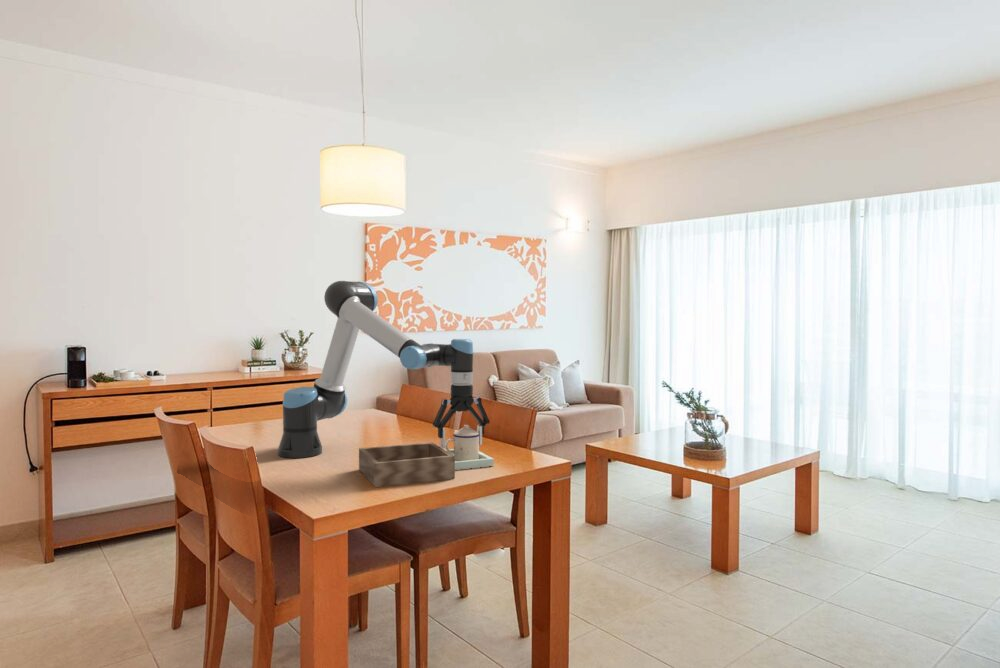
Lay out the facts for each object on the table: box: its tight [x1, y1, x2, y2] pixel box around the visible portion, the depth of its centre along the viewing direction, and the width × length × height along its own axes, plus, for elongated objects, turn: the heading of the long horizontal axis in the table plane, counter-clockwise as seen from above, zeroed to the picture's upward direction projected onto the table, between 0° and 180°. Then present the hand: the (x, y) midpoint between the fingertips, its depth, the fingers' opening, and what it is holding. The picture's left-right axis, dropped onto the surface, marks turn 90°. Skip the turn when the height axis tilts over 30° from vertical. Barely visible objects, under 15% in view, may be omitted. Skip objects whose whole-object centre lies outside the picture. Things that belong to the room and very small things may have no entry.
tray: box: [444, 448, 495, 471], centre depth 218 cm, size 16×19×2 cm
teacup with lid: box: [444, 424, 480, 461], centre depth 218 cm, size 12×9×12 cm
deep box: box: [358, 441, 456, 488], centre depth 201 cm, size 25×22×7 cm
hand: (461, 445), depth 217 cm, fingers open, 13 cm apart
